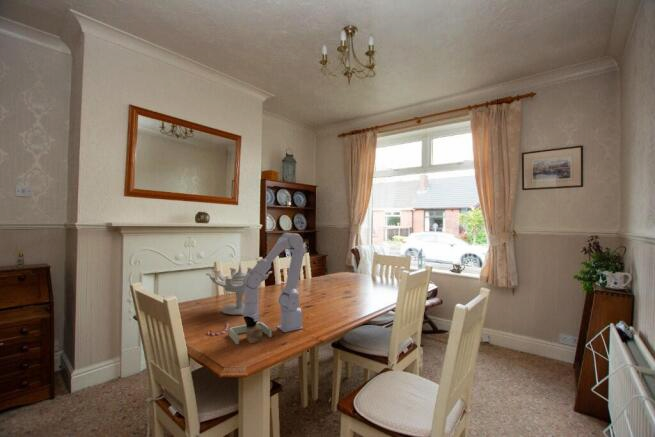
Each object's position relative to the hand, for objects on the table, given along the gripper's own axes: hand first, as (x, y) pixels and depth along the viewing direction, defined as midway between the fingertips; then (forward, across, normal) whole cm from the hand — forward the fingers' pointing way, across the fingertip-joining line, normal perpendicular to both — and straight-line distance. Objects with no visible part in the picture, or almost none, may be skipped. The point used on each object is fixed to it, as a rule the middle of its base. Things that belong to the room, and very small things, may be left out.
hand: (250, 333), depth 126 cm
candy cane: (+2, -15, -9) cm, 18 cm away
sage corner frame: (+1, 0, 0) cm, 1 cm away
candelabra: (+2, -38, +7) cm, 39 cm away
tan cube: (+1, +4, 0) cm, 4 cm away
